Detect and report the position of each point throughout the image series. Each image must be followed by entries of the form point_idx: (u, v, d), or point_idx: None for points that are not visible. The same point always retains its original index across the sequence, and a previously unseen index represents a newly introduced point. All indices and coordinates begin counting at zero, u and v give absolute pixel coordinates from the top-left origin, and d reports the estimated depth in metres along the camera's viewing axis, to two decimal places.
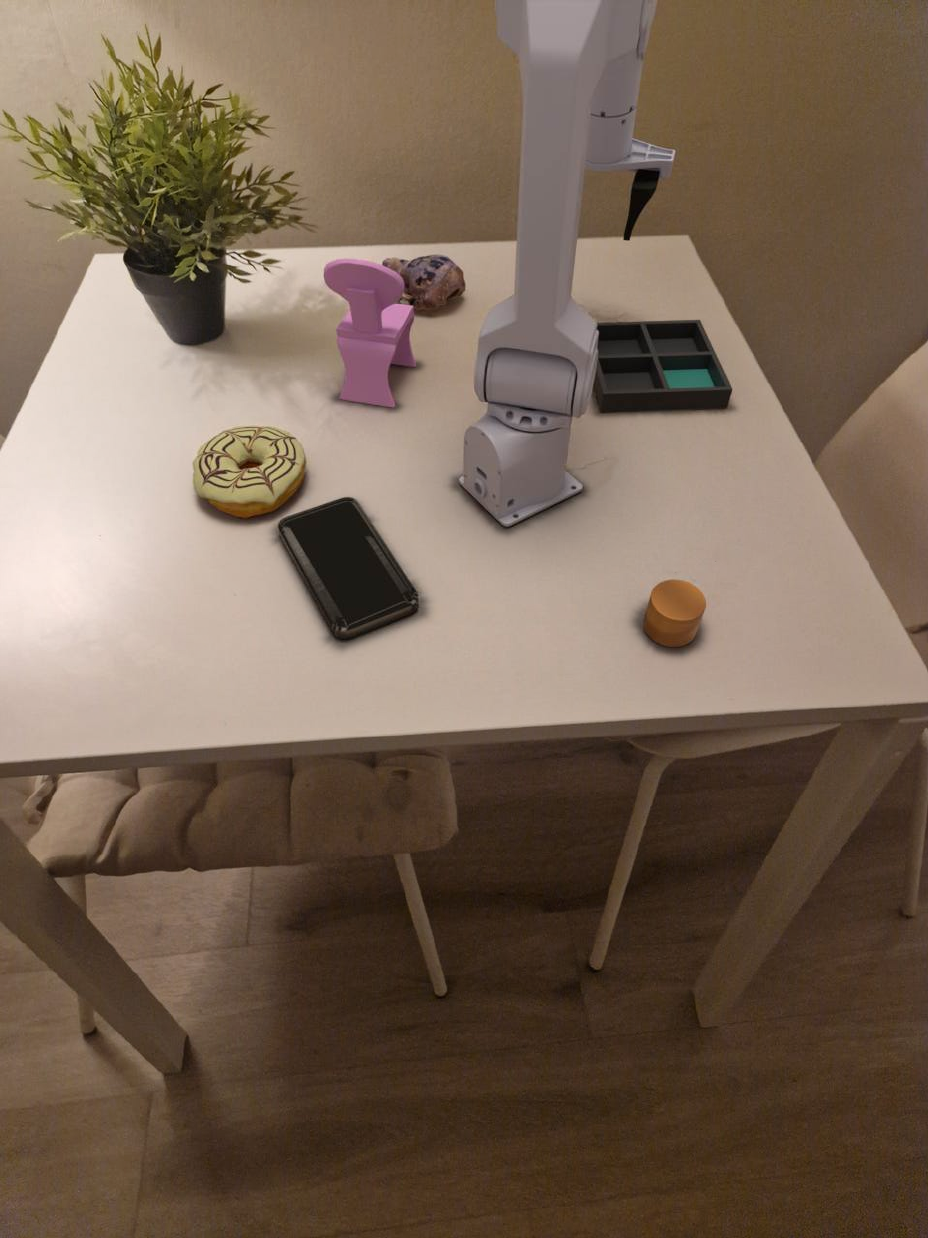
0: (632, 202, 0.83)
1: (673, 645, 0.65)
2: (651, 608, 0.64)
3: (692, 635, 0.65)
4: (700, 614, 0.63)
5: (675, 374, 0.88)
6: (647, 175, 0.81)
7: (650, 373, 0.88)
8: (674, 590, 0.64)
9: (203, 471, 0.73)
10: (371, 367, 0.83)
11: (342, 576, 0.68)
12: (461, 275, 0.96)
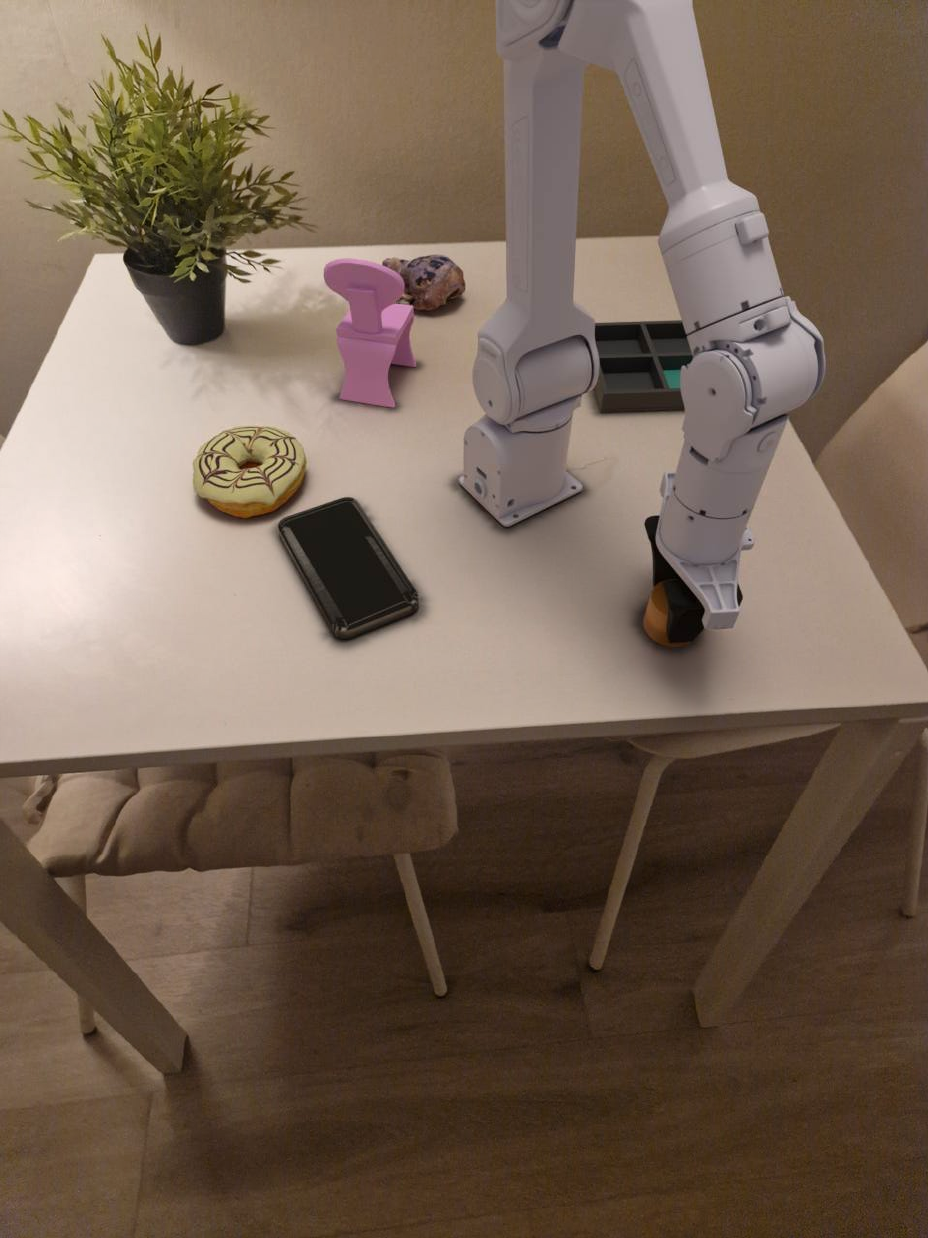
0: None
1: (673, 645, 0.65)
2: (651, 607, 0.64)
3: None
4: None
5: (675, 374, 0.88)
6: None
7: (650, 373, 0.88)
8: None
9: (203, 471, 0.73)
10: (371, 367, 0.83)
11: (342, 576, 0.68)
12: (461, 275, 0.96)
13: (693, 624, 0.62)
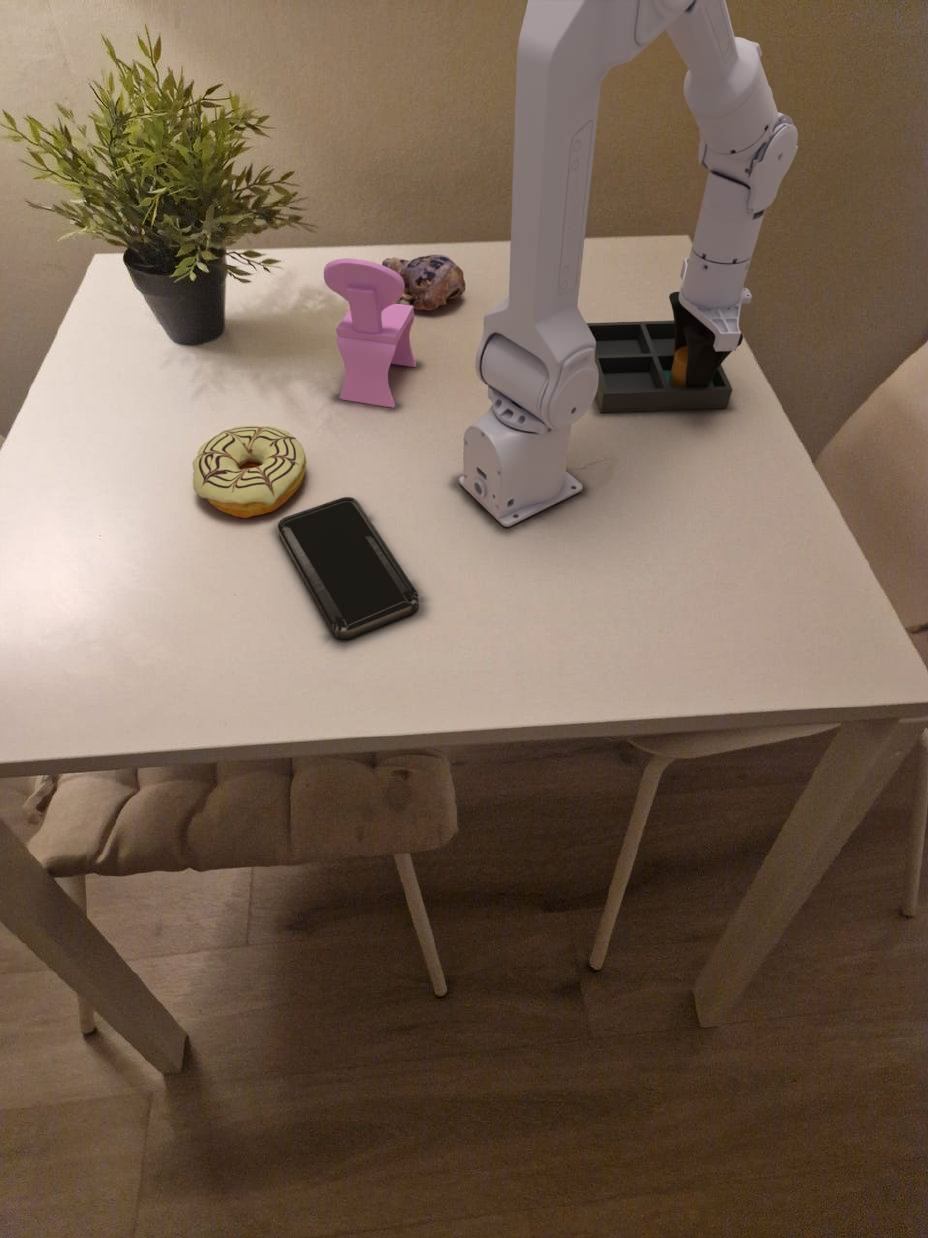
0: (687, 345, 0.81)
1: None
2: (675, 363, 0.85)
3: None
4: None
5: None
6: (707, 330, 0.78)
7: (650, 373, 0.88)
8: None
9: (203, 471, 0.73)
10: (371, 367, 0.83)
11: (342, 576, 0.68)
12: (461, 275, 0.96)
13: (706, 369, 0.82)
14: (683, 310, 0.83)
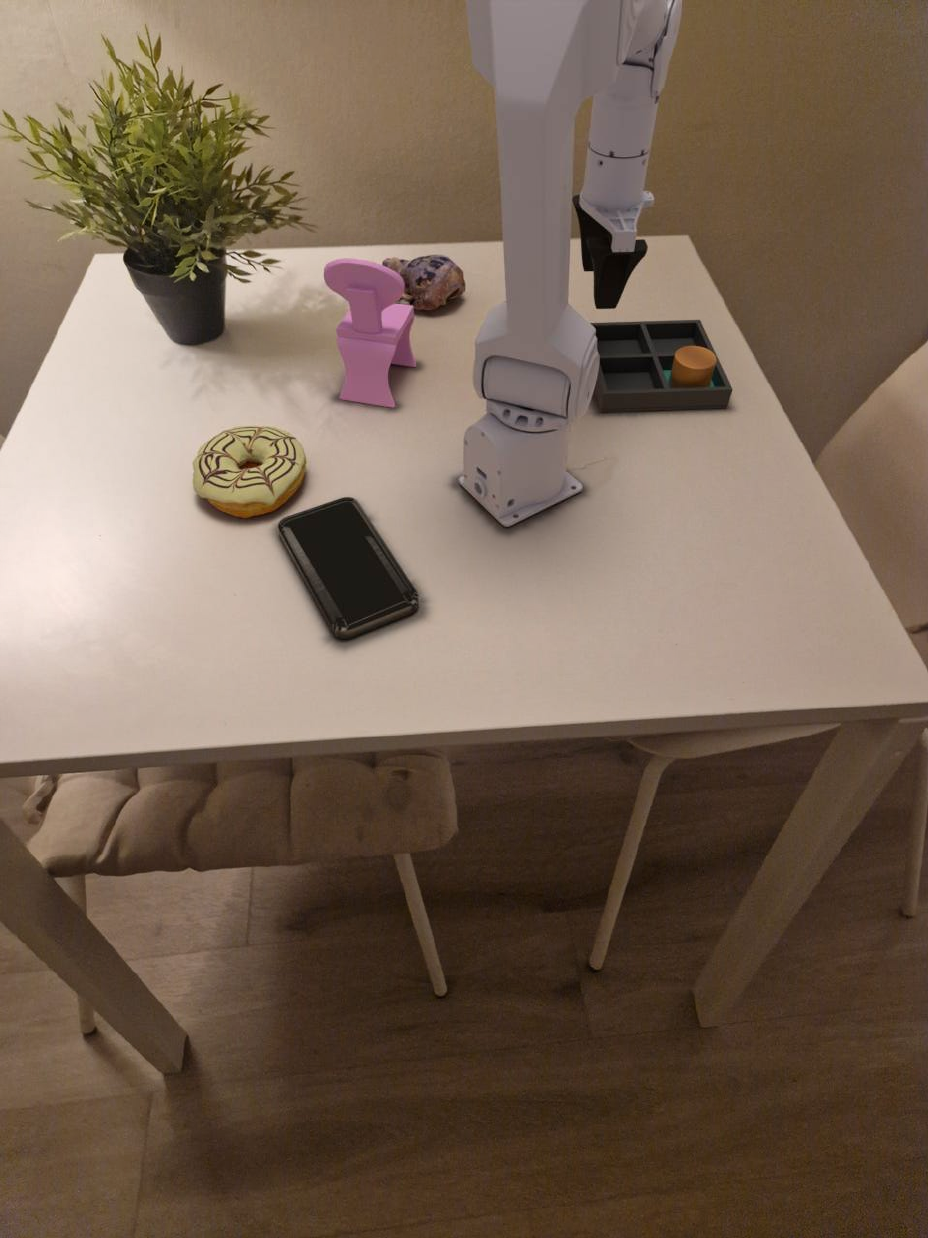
0: (591, 258, 0.77)
1: None
2: (675, 363, 0.85)
3: (706, 386, 0.85)
4: (712, 365, 0.84)
5: None
6: (609, 240, 0.74)
7: (650, 373, 0.88)
8: (693, 351, 0.85)
9: (203, 471, 0.73)
10: (371, 367, 0.83)
11: (342, 576, 0.68)
12: (461, 275, 0.96)
13: (613, 286, 0.79)
14: (586, 212, 0.81)
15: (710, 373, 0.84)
